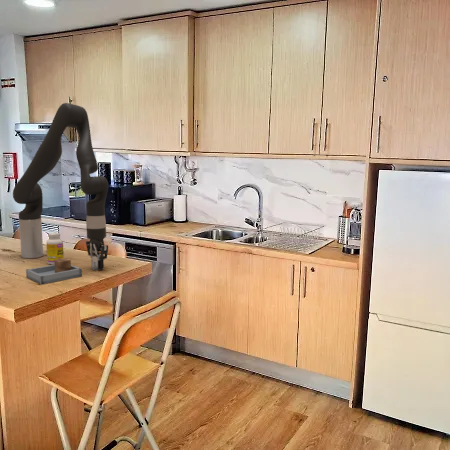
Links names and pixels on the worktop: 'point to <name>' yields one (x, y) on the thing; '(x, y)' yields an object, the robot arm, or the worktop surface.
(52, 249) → the supplement bottle
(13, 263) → the worktop surface
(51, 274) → the parts tray
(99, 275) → the worktop surface
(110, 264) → the worktop surface
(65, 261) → the walnut block
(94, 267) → the grey rounded cylinder
